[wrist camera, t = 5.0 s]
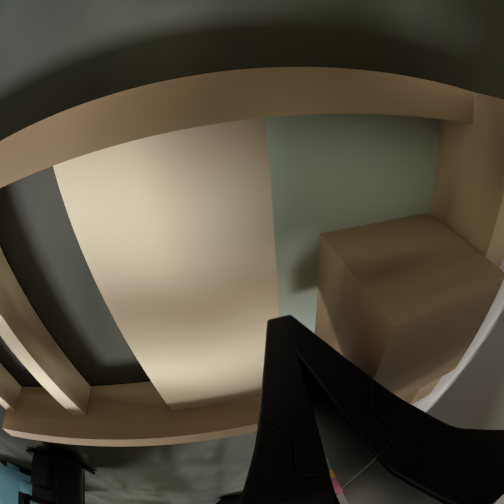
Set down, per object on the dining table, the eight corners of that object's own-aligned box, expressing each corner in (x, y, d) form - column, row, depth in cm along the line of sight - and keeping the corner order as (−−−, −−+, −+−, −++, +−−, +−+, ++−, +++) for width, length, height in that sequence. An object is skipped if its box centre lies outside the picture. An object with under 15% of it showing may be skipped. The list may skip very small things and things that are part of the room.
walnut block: (405, 304, 11) (455, 368, 8) (314, 333, 11) (355, 418, 8) (427, 213, 9) (505, 273, 6) (319, 233, 8) (393, 326, 5)
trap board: (388, 333, 16) (428, 394, 12) (21, 394, 13) (8, 454, 9) (429, 85, 8) (531, 111, 4) (-93, 213, 5) (-145, 268, 1)
